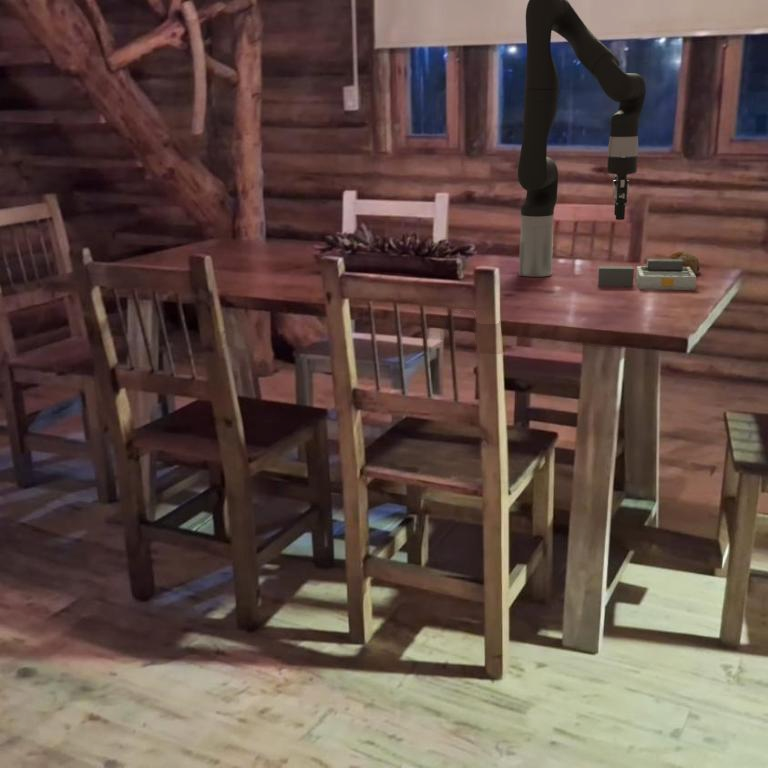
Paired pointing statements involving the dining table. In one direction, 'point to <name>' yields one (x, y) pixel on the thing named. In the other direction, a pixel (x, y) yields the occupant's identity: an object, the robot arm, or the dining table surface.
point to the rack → (665, 275)
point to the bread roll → (687, 260)
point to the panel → (616, 276)
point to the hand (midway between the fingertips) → (619, 217)
